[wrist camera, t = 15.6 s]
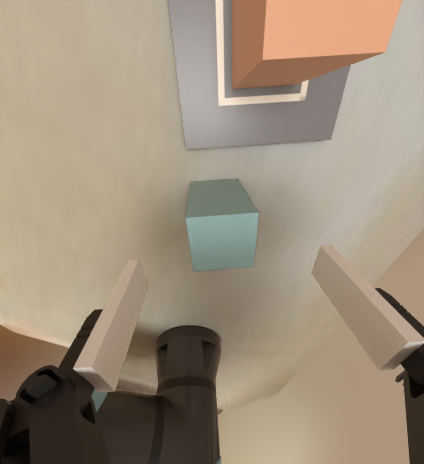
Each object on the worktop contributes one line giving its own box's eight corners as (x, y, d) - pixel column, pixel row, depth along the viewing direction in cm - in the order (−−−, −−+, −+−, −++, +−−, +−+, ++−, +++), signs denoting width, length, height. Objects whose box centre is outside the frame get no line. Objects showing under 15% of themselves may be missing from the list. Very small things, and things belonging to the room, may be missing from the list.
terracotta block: (294, 84, 17) (385, 52, 9) (231, 88, 17) (262, 59, 9) (308, -14, 14) (472, -216, 6) (231, -10, 14) (280, -207, 6)
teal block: (236, 219, 26) (253, 266, 18) (195, 222, 26) (193, 271, 18) (237, 178, 23) (258, 212, 15) (190, 181, 23) (185, 217, 15)
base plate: (323, 138, 21) (330, 139, 20) (186, 147, 21) (186, 149, 20) (384, -117, 13) (405, -143, 11) (156, -107, 12) (151, -133, 11)
